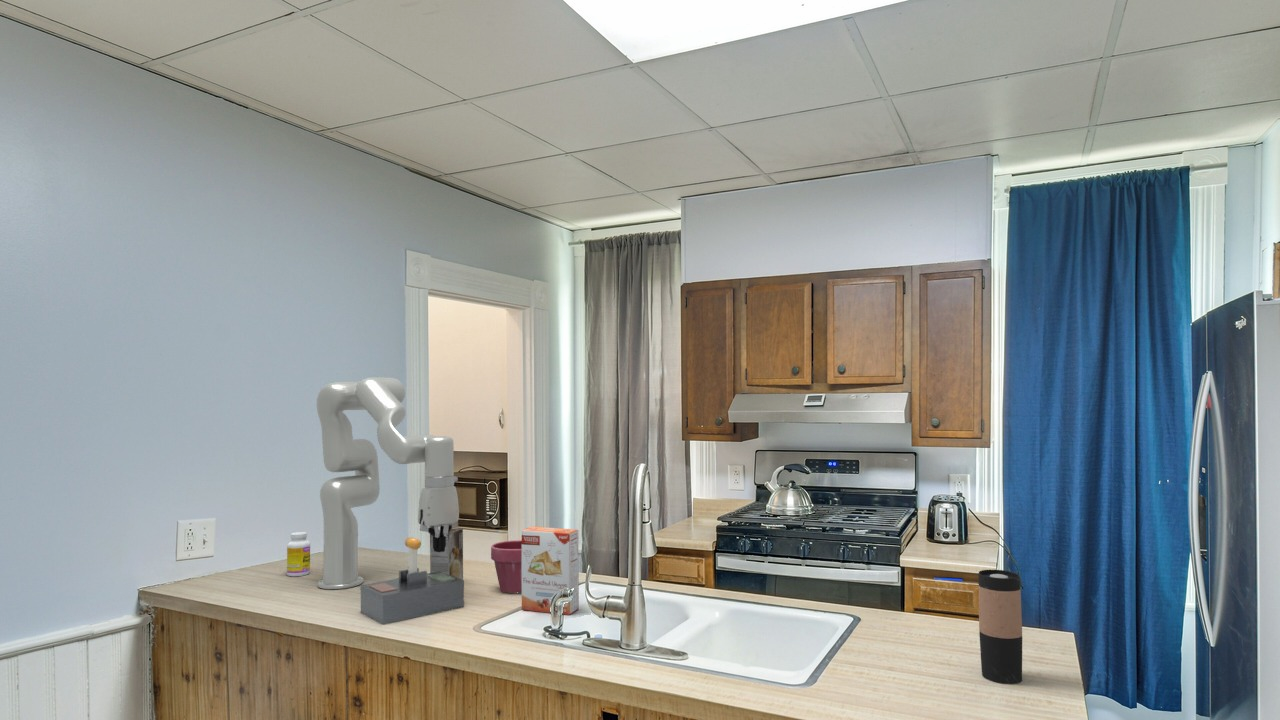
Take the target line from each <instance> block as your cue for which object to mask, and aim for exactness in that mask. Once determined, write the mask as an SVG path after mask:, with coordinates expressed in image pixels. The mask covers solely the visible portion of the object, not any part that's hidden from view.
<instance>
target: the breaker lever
mask: <svg viewBox="0 0 1280 720" xmlns="http://www.w3.org/2000/svg"><path fill="white" fill-rule="evenodd" d="M404 545H405V546H406V547H407V548H408V552H407V553H408V554H407V557H408V560H407V561H408V562H407V563H408V568H407V569H408V574H410V573H415V572H417V568H418V549H420V548H421V545H422V541H421V540H419V539H417V538H414V537H412V536H409V537H407V538H406V539H405V541H404Z"/></svg>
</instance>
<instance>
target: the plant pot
mask: <svg viewBox="0 0 1280 720" xmlns="http://www.w3.org/2000/svg"><path fill="white" fill-rule="evenodd" d="M490 547H491V548H490V559H491V561H494V567H495V568H494V569H495V572H496V577H497V581H498V585H499V590H500V591H501V592H502V593H506V592H508V593H507V594H518V593H517V592H522V539H521V540H518V539H516V540H504V541H500V542H496V543H493V544H492V545H491V546H490Z"/></svg>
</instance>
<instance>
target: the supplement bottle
mask: <svg viewBox="0 0 1280 720" xmlns="http://www.w3.org/2000/svg"><path fill="white" fill-rule="evenodd" d="M307 537H308V532H306V531H296V532H292V533H290V539H291V540H290V541H289V542H288V543H287V544H286V545H287V547H286V575H287V576H289V577H302V576H303V577H304V576H307V575H308V574H310V572H311V542H310V540H308V539H307Z"/></svg>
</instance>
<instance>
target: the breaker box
mask: <svg viewBox="0 0 1280 720" xmlns="http://www.w3.org/2000/svg"><path fill="white" fill-rule="evenodd" d="M464 598H465V580H464V579H463V580H462V579H459V578H456V577H453V576H451V575H448V574H445V573H443V572H440V571H438V572H432V573H430V572H428V571H427V570H422V571H419V567H417V572H415V573H410V574H408V568H407V569H401V570H398V578H393V579H389V580H382V581H376V582H371V583H364V584H360V614H362V613H363V615H364V614H365V616H366V617H368V618H369V619H370V618H371V619H372V620H374V621H375V620H376V621H375V622H378V623H379V624H381V625H387V624H392V623H397V622H401V620H402V621H407V620H409V619H410V620H411V619H415V618H419V617H424V615H425V616H429V614H430V615H434V614H438V612H439V613H443V611H444V612H447V611H452V609H453V610H456V609H461V607H462V608H464V606H465V599H464Z"/></svg>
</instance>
